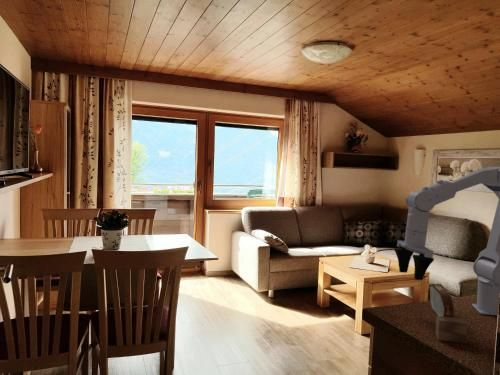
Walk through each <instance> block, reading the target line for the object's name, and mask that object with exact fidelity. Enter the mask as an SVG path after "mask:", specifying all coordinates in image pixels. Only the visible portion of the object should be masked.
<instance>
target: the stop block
mask: <svg viewBox="0 0 500 375" xmlns="http://www.w3.org/2000/svg"><path fill="white" fill-rule="evenodd" d="M435 337H436V339H437V341H444V342H453V343H460V344H461V343H463V344H467V342H468V322H467V321H466V319H465V318H462V317H442V316H437V315H436V316H435Z"/></svg>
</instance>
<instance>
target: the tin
mask: <svg viewBox="0 0 500 375" xmlns="http://www.w3.org/2000/svg"><path fill="white" fill-rule="evenodd" d="M429 291H430V292H429V294H430V296H429V297H430V298H429V301H430V306H431V309H432V311H433V312H434V314H435V315H436V316H442V317H453V318H455V317H454V316H455V315H454V314H455V307H454V302H453V297H452V296H451V293H450V292H449V290H448V289H447V288H446V287H445V286H444V285H442V283H432V284H430V285H429Z"/></svg>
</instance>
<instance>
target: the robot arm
mask: <svg viewBox="0 0 500 375" xmlns="http://www.w3.org/2000/svg"><path fill="white" fill-rule="evenodd" d="M480 184H482V185H483V186H484V187H486V188H487V189H489V191H491V192H493V194H494V195H496V197H497V198H498V201H497V204H496V205H497V206H496V210H495V213H494V216H493V217H494V218H493V221H492V224H491V228H490V233H489V235H488V236H489V237H488V241H487V244H486V247H485V248H484V249H483V250H481V251H480V252H479V253H478V257H477V258H476V259H475V261H474V262H473V265H472V268H473V269H472V270H473V272H474V273H475V275H476V279H477V296H476V297H477V298H476V303H471V306H472V307H473V308H474V309H475V310H476V311H477V312H478V313H480V314H481V315H487V316H488V315H490V316H498V315H497V312H498V304H499V293H500V166H493V165H492V166H489V165H487V166H485V167H481V168H478V169H476V170H473V171H472V172H470V173H468V174H466V175H463V176H461V177H459V178H457V179H455V180H452V181H449V180H445V179H444V180H443V179H438V180H436V183H434V184H432V185H430V186H423V187H422V189H421V190H413V191H411V192H410V193H409V194H408V196H407V197H406V198H405V202H406V206H407V208H408V210H407V212H408V213H407V217H406V218H407V220H406V227H405V234H404V235H405V236H404V240H397V243H396V248H394V252H395V254H396V257H397V262H398V270H399V273H407V272H408V270H409V266H410V261H411V259H412V260H413V263H414V273H413V275H414V277H413V278H414V280H416V281H423V279H424V277H425V274H426V273H427V270H428V269H429V266H430V265H431V264H432V263H433V262H434V259H435V258H434V251H433V250H431V249H430V248H428V247H426V244H427V243H426V241H427V233H428V225H429V218H430V211H432V210H433V208H434V207H435V206H437V205H439V204H442V203H444V202H446V201H449V200H451V199H453V198H456V197H455V196H456V194H457V193H458V192H461V191H464V190H467V189H469V188H472V187H474V186H477V185H480ZM397 247H398V248H397ZM414 253H415V254H414Z"/></svg>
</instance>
